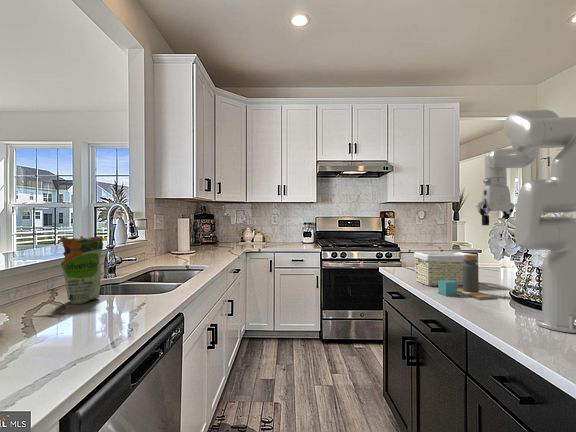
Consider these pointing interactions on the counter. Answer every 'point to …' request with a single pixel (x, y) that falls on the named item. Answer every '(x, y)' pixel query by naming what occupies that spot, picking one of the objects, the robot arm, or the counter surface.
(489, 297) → the board
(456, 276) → the storage basket
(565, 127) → the robot arm
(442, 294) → the mat
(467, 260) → the bottle
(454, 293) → the cube
